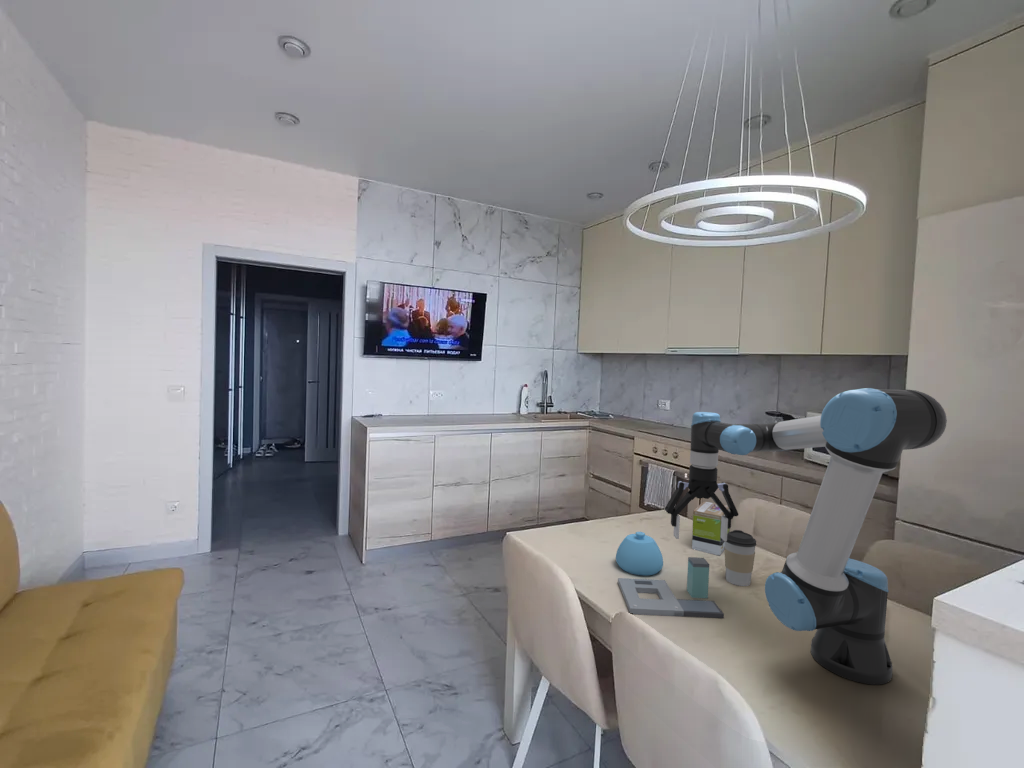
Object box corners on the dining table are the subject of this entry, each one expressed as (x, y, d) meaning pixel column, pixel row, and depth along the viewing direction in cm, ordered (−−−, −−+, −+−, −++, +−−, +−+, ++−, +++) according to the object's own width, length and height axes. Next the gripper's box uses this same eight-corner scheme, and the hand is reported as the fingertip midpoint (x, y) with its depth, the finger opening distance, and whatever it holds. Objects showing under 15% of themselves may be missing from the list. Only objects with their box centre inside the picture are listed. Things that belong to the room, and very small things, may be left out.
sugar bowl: (645, 582, 147) (647, 545, 146) (606, 565, 158) (607, 531, 158) (671, 569, 157) (673, 534, 156) (632, 554, 168) (634, 521, 167)
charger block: (707, 598, 138) (709, 564, 137) (691, 597, 138) (693, 563, 137) (702, 590, 142) (703, 557, 142) (686, 590, 142) (688, 557, 142)
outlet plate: (683, 616, 127) (683, 610, 127) (630, 613, 128) (630, 608, 128) (664, 584, 145) (664, 579, 145) (617, 582, 146) (618, 577, 146)
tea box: (701, 537, 186) (703, 500, 186) (729, 544, 180) (731, 505, 180) (690, 549, 174) (692, 509, 173) (720, 556, 168) (722, 515, 168)
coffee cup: (758, 589, 144) (760, 540, 143) (725, 585, 146) (728, 537, 145) (749, 576, 153) (752, 530, 152) (719, 573, 155) (721, 527, 154)
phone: (723, 618, 127) (723, 613, 127) (674, 615, 127) (674, 611, 127) (713, 604, 134) (713, 600, 134) (666, 602, 134) (666, 598, 134)
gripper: (741, 464, 142) (738, 535, 143) (656, 461, 142) (653, 531, 144) (753, 470, 134) (749, 545, 135) (663, 467, 135) (659, 541, 136)
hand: (699, 538), depth 139 cm, fingers open, 13 cm apart
